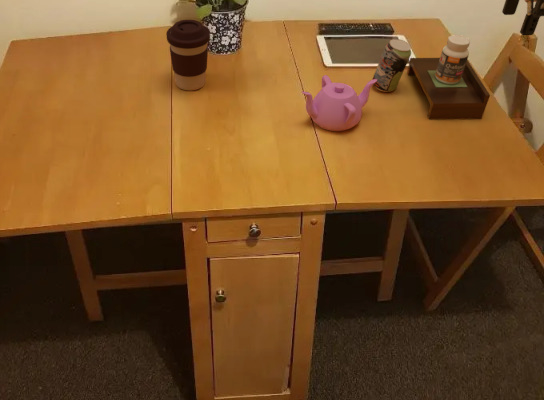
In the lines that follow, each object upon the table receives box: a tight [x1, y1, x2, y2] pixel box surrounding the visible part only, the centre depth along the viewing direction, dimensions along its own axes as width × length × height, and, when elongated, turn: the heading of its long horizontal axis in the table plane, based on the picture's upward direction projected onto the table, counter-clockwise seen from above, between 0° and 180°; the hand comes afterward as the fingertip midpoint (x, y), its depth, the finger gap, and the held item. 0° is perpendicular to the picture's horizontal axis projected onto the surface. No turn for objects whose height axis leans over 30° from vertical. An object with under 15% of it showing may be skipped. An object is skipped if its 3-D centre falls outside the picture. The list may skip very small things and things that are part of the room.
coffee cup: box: [165, 19, 211, 91], centre depth 137 cm, size 10×10×15 cm
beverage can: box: [371, 38, 412, 93], centre depth 136 cm, size 6×7×12 cm
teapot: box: [301, 74, 377, 132], centre depth 128 cm, size 12×14×9 cm
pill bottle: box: [435, 34, 471, 84], centre depth 132 cm, size 6×6×10 cm
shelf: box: [406, 57, 491, 120], centre depth 136 cm, size 20×12×6 cm, turn 1°
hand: (516, 23), depth 106 cm, fingers open, 8 cm apart
